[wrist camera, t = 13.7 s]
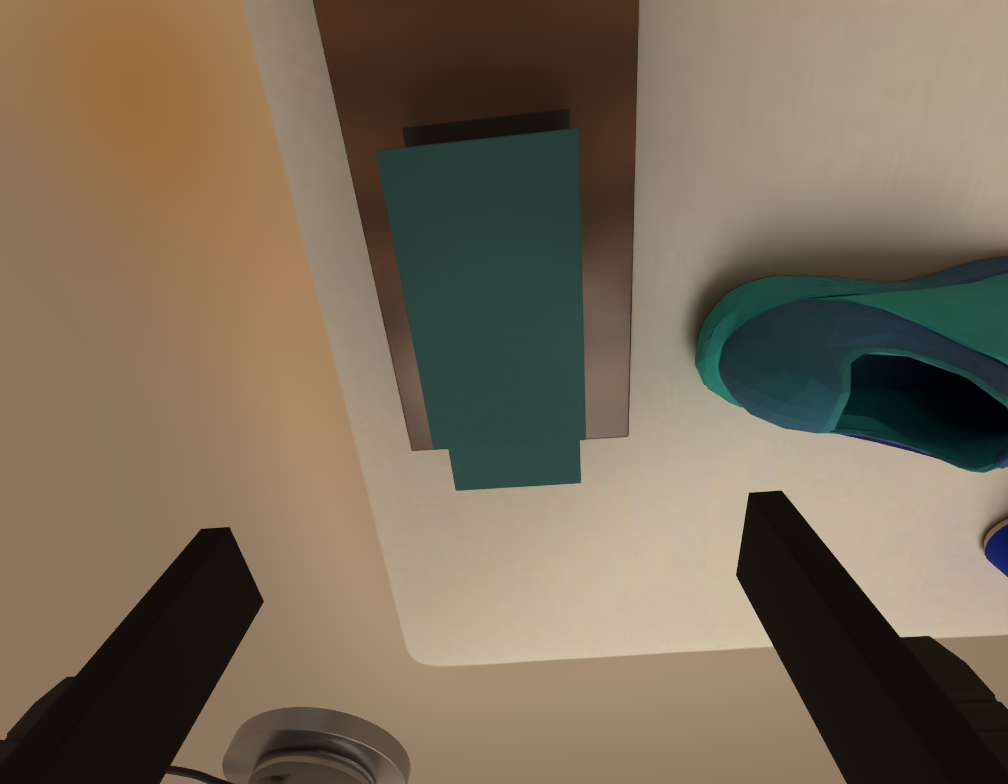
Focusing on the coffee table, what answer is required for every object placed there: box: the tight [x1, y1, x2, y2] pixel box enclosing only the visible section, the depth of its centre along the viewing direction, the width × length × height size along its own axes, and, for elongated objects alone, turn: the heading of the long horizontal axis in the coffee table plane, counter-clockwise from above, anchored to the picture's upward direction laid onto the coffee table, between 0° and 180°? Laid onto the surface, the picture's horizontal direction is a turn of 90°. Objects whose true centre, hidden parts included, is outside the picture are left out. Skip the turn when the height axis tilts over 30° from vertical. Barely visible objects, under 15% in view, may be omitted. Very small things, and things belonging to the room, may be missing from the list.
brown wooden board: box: [313, 0, 639, 451], centre depth 25 cm, size 28×14×3 cm, turn 6°
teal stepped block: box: [376, 109, 586, 491], centre depth 23 cm, size 18×8×8 cm, turn 6°
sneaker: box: [695, 256, 1008, 473], centre depth 24 cm, size 10×26×12 cm, turn 87°
